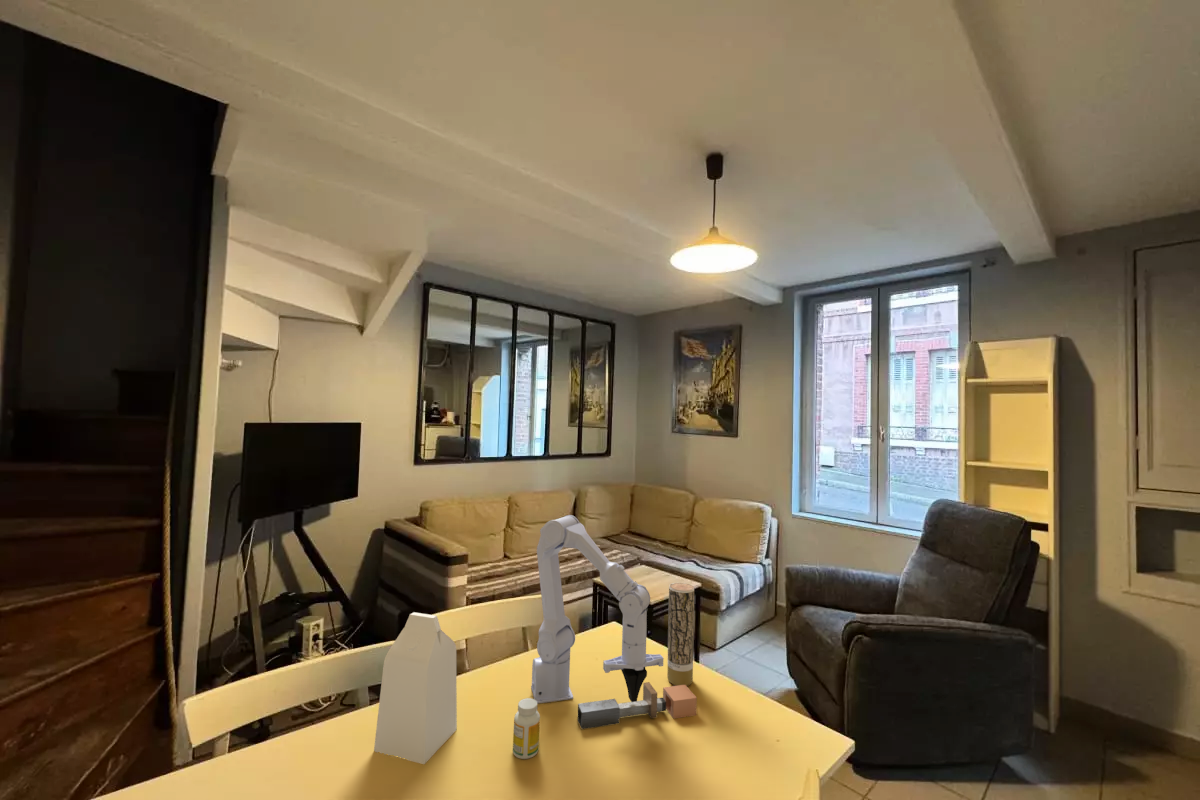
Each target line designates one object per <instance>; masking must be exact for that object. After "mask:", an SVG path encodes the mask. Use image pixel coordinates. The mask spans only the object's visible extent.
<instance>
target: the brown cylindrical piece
mask: <svg viewBox="0 0 1200 800" xmlns="http://www.w3.org/2000/svg"><path fill="white" fill-rule="evenodd" d="M694 618H695V586H694V585H692V584H689V583H686V582H673V583H670V584H669V587H668V618H667V619H668V624H667V625H668V627H667V628H668V629H667V677H666V678H667V680H668V681H669V683H671V684H672V685H673V686H678V685H686V686H687V687H688V686H690V685H691V684H692V683H693V678H694V674H693V673H694V631H695V630H694V629H695V627H694V625H695V623H694V622H695V619H694Z"/></svg>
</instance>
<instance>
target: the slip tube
mask: <svg viewBox="0 0 1200 800" xmlns="http://www.w3.org/2000/svg"><path fill="white" fill-rule="evenodd" d="M642 685H643V689H642V690H643V693H642V700H637V701H635V702H631V701H630V702H629V701H628V702H621V703H618V705H619V707H620V718H619V719H621V718H627V717H632V716H633V717H634V716H639V715H640V716H641V715H645V714H646V715H648V717H649V718H650V719H655V718H658V713H660V712H666V711H667V709H666V701H665V700H664V698H663V697H658V692H657V691H656V689H655V688H654V686H653V685H652V684H651V683H650V682H649V681H648V682H646V681H645V682H643V683H642Z"/></svg>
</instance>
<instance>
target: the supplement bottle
mask: <svg viewBox="0 0 1200 800" xmlns="http://www.w3.org/2000/svg"><path fill="white" fill-rule="evenodd" d="M540 722H541V715H540V713H539V711H538V704H537V701H536V700H535V699H534V698H531V697H529V698H528V697H527V698H523V699H521V700H519V701H518V704H517V712H516V713H515V715H514V717H513V734H512V735H513V737H512V754H513V755H514V756H515V757H516V758H518V759H521V760H527V759H531V758H533V757H535V756H536V755H537V754H538V752H539V747H540V725H541V723H540Z"/></svg>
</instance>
